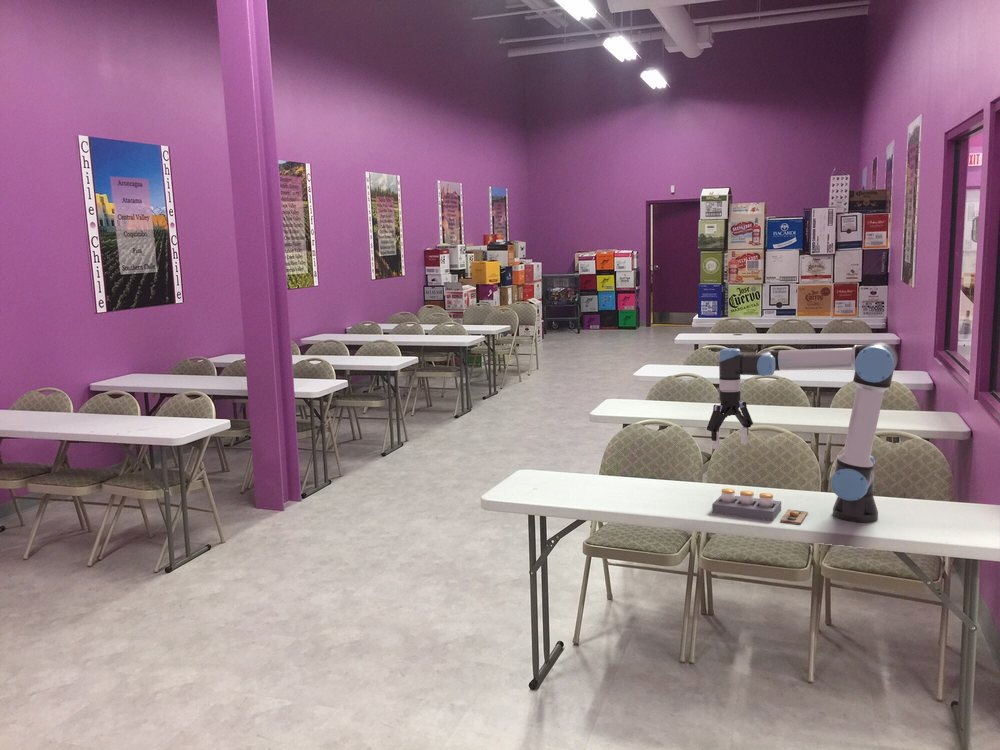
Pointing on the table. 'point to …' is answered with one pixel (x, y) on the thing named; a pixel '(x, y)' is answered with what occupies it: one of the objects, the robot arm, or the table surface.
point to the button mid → (747, 498)
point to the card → (794, 516)
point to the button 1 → (728, 495)
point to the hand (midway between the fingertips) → (730, 446)
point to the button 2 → (766, 500)
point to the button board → (746, 509)
